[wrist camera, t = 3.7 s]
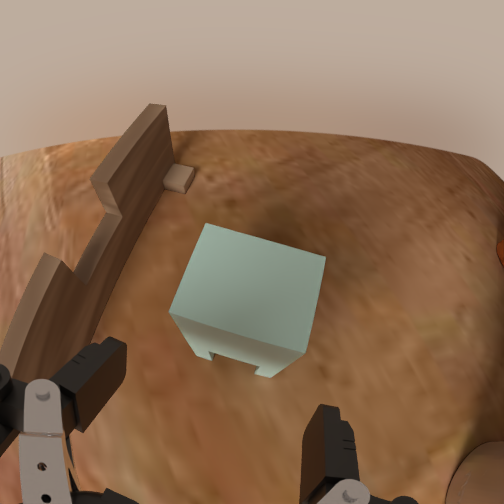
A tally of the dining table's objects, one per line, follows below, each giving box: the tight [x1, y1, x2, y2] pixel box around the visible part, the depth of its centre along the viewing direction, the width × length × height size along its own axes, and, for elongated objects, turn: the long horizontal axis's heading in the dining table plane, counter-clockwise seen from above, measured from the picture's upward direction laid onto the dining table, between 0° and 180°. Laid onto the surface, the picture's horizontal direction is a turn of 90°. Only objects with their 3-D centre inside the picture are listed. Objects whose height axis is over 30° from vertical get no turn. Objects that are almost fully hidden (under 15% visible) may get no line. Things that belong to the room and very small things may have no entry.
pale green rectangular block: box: [169, 223, 326, 378], centre depth 17 cm, size 6×4×11 cm
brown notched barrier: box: [0, 104, 195, 383], centre depth 21 cm, size 6×24×8 cm, turn 164°
